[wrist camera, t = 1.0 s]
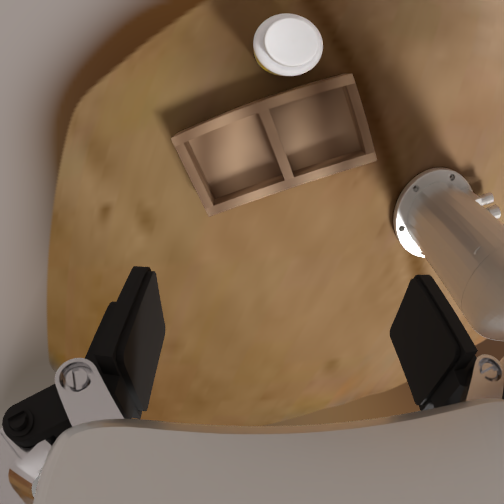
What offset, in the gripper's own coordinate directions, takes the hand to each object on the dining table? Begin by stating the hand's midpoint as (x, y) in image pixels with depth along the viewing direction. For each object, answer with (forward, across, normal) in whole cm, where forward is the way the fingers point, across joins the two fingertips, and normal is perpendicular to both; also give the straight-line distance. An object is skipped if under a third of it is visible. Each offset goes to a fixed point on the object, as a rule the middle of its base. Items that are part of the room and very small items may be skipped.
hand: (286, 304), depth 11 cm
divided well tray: (+26, -2, 0) cm, 26 cm away
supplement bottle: (+26, -2, -10) cm, 28 cm away
